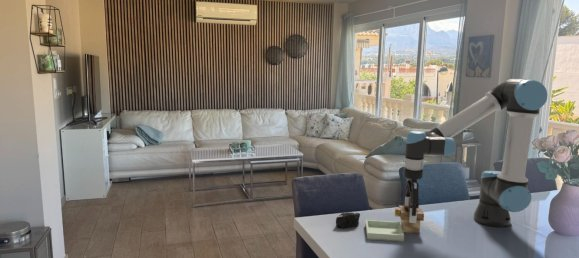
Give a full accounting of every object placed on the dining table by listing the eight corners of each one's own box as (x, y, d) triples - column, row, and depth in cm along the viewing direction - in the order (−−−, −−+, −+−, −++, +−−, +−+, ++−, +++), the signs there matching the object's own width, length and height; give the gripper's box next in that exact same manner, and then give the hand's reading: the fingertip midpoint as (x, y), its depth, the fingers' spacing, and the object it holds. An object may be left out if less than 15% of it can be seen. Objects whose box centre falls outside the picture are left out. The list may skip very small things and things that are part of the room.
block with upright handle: (417, 227, 180) (419, 196, 178) (419, 233, 174) (421, 201, 172) (400, 226, 181) (402, 195, 179) (402, 232, 175) (404, 200, 173)
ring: (419, 213, 180) (420, 206, 180) (423, 220, 172) (424, 213, 171) (393, 211, 182) (394, 205, 181) (396, 219, 173) (396, 212, 172)
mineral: (355, 231, 175) (355, 218, 174) (334, 228, 178) (334, 215, 177) (360, 223, 184) (360, 210, 183) (340, 220, 187) (340, 208, 186)
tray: (399, 228, 179) (399, 221, 179) (404, 242, 165) (404, 235, 165) (365, 226, 181) (365, 219, 181) (367, 239, 167) (367, 233, 166)
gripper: (400, 161, 186) (397, 206, 189) (409, 175, 162) (405, 227, 165) (417, 161, 185) (414, 207, 188) (429, 176, 161) (424, 228, 164)
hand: (409, 216), depth 177 cm, fingers open, 13 cm apart
